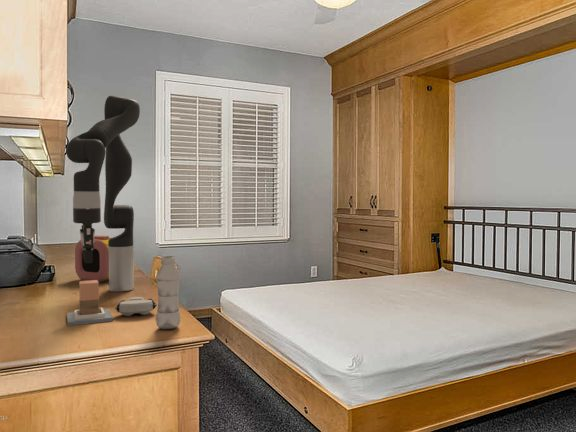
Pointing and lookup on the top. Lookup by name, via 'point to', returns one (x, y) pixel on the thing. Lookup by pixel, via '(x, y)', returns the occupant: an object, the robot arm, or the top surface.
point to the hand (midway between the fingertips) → (87, 261)
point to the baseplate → (89, 317)
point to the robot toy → (135, 306)
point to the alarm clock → (100, 260)
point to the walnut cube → (89, 307)
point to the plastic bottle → (168, 294)
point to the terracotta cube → (89, 290)
